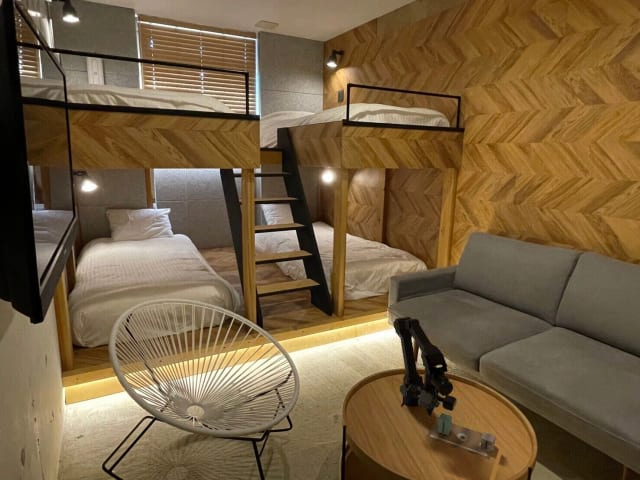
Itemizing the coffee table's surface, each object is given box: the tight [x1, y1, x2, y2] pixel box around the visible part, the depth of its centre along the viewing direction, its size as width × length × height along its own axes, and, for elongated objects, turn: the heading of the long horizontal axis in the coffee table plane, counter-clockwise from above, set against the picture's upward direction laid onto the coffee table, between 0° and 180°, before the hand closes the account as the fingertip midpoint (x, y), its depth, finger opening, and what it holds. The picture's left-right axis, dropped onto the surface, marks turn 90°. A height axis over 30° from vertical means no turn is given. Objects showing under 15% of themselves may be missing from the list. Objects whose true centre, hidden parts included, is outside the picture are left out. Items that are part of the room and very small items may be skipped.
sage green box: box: [438, 412, 453, 435], centre depth 169 cm, size 4×4×6 cm
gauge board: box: [426, 417, 497, 460], centre depth 166 cm, size 24×13×5 cm, turn 58°
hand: (429, 415), depth 172 cm, fingers closed
